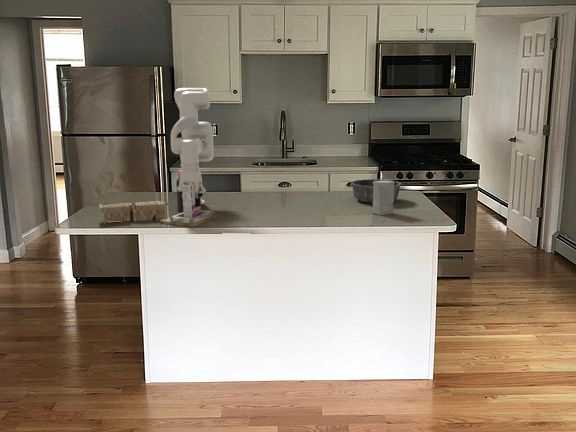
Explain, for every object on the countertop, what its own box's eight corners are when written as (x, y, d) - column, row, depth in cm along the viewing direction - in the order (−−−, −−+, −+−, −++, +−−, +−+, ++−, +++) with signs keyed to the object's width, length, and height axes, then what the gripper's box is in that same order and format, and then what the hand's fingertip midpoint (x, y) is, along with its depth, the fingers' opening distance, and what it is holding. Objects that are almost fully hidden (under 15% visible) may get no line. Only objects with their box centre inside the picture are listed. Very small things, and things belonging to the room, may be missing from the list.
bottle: (185, 212, 307) (183, 172, 302) (174, 210, 310) (172, 170, 306) (194, 209, 312) (192, 170, 308) (183, 208, 316) (182, 169, 312)
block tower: (162, 218, 300) (99, 220, 290) (162, 200, 298) (98, 202, 289) (165, 221, 293) (100, 224, 283) (165, 203, 291) (99, 206, 281)
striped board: (159, 223, 284) (159, 216, 283) (185, 214, 302) (184, 208, 301) (193, 227, 277) (192, 219, 276) (217, 217, 294) (216, 211, 293)
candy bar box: (191, 213, 294) (190, 179, 290) (201, 214, 293) (200, 179, 289) (182, 219, 283) (181, 183, 280) (193, 219, 282) (191, 183, 279)
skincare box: (380, 215, 298) (381, 182, 294) (371, 212, 304) (372, 180, 300) (394, 213, 301) (395, 181, 298) (385, 211, 308) (386, 179, 304)
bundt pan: (370, 194, 352) (371, 176, 350) (410, 200, 334) (411, 182, 331) (340, 201, 334) (340, 182, 331) (380, 208, 315) (381, 188, 313)
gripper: (169, 167, 283) (171, 205, 287) (202, 169, 276) (203, 209, 280) (179, 164, 290) (181, 202, 294) (211, 167, 283) (212, 206, 287)
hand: (192, 205), depth 287 cm, fingers closed on candy bar box, 5 cm apart
